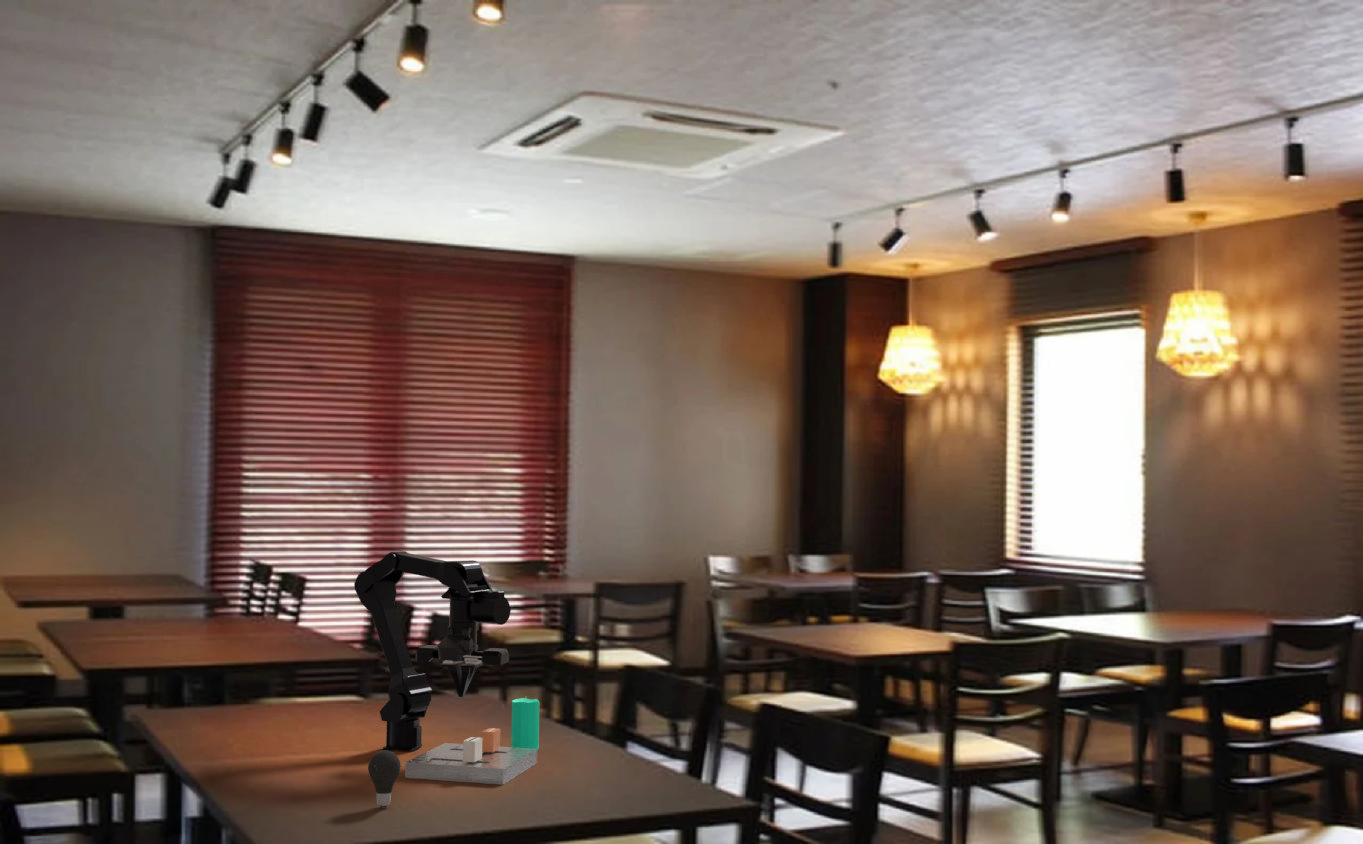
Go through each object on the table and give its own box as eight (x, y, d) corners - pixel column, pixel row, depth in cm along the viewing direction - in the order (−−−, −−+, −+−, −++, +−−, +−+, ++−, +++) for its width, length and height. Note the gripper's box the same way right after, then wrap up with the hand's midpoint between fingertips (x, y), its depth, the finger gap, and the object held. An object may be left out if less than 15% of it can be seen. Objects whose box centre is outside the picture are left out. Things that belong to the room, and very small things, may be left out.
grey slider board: (405, 778, 273) (405, 761, 273) (444, 757, 292) (445, 742, 292) (503, 784, 268) (503, 768, 268) (536, 763, 288) (536, 748, 288)
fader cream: (462, 776, 273) (463, 740, 273) (470, 771, 277) (470, 736, 277) (474, 776, 272) (475, 741, 272) (481, 772, 276) (482, 737, 276)
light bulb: (369, 804, 251) (370, 747, 252) (401, 803, 252) (402, 747, 252) (365, 811, 246) (366, 753, 246) (397, 811, 246) (399, 753, 247)
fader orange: (481, 765, 282) (482, 731, 283) (488, 761, 286) (489, 727, 287) (492, 766, 282) (493, 732, 282) (499, 762, 286) (500, 728, 286)
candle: (534, 753, 298) (535, 696, 299) (506, 751, 300) (508, 694, 300) (542, 747, 304) (543, 691, 305) (515, 746, 306) (517, 690, 306)
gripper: (405, 623, 288) (403, 700, 287) (492, 627, 283) (490, 705, 283) (427, 618, 298) (425, 692, 298) (510, 621, 294) (509, 697, 294)
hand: (461, 696), depth 293 cm, fingers closed
